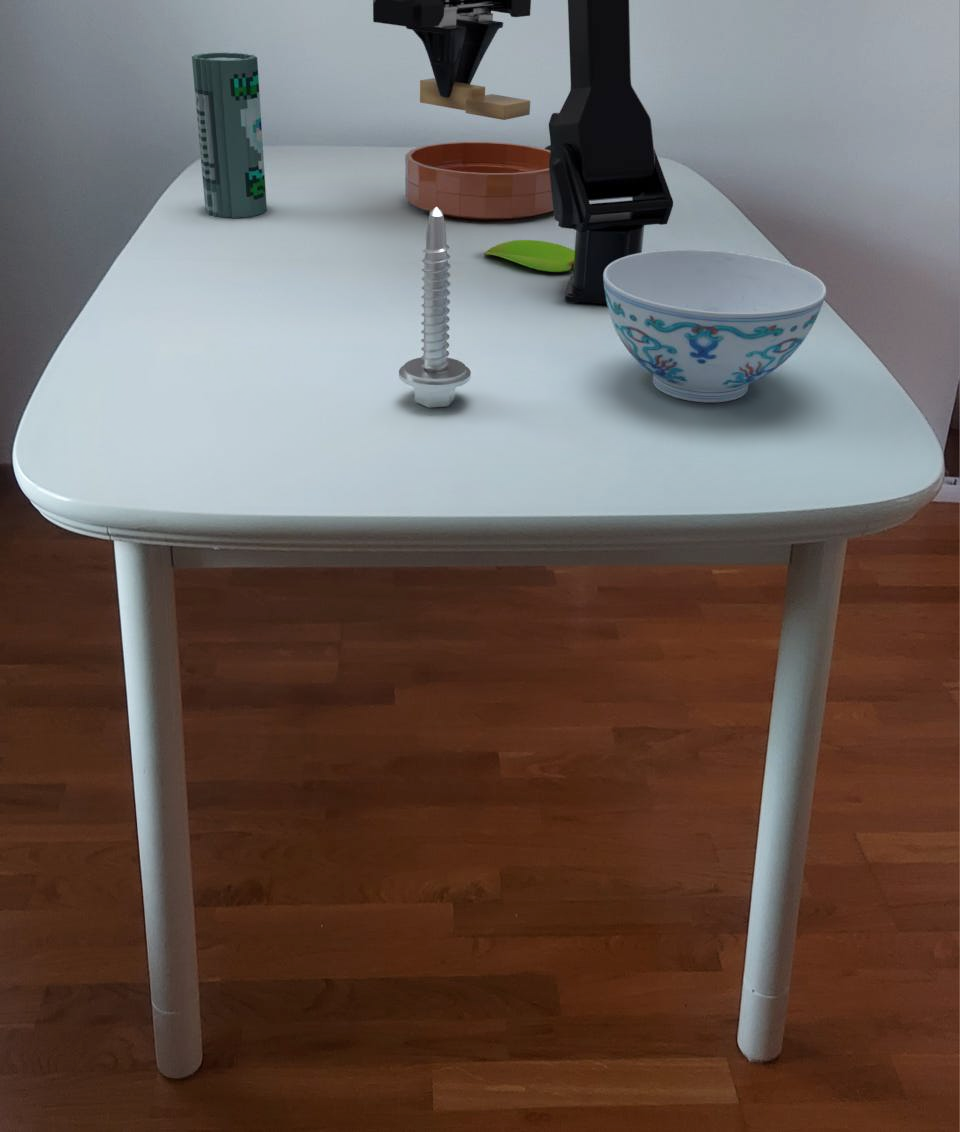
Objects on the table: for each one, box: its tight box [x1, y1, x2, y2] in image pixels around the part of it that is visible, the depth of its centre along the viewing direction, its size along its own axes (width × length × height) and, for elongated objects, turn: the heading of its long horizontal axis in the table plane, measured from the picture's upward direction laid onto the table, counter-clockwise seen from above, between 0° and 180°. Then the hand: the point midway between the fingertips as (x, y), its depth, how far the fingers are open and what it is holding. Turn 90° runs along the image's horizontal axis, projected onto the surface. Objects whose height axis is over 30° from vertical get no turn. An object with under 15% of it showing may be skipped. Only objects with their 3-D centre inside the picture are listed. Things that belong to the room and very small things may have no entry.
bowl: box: [404, 141, 554, 221], centre depth 128 cm, size 17×17×5 cm
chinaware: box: [603, 248, 827, 404], centre depth 82 cm, size 15×15×8 cm
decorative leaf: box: [483, 239, 575, 273], centre depth 110 cm, size 8×9×1 cm
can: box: [191, 52, 268, 219], centre depth 120 cm, size 6×6×15 cm
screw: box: [398, 207, 472, 409], centre depth 77 cm, size 13×5×5 cm
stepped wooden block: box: [419, 77, 531, 121], centre depth 121 cm, size 12×4×2 cm, turn 52°
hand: (452, 95), depth 122 cm, fingers closed on stepped wooden block, 2 cm apart
